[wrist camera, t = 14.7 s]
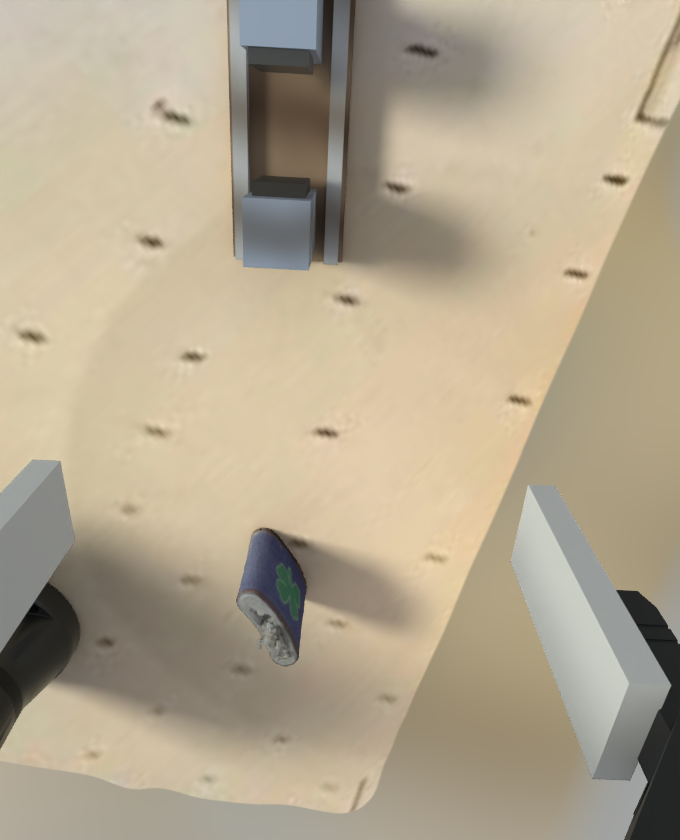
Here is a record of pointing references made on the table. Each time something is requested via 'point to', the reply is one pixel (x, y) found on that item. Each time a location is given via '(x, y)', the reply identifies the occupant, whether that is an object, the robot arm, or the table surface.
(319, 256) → the rail board
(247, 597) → the flask
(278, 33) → the blue-grey rectangular block
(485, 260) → the table surface
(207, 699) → the table surface
